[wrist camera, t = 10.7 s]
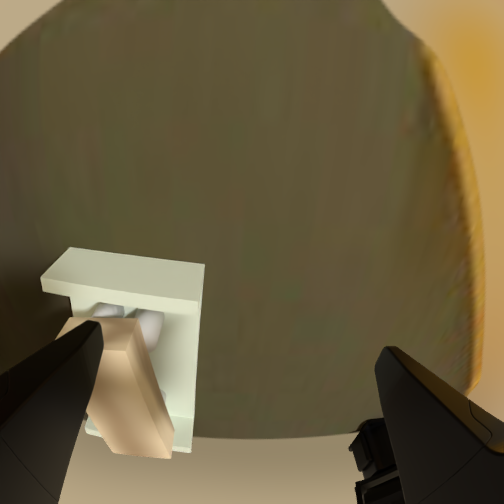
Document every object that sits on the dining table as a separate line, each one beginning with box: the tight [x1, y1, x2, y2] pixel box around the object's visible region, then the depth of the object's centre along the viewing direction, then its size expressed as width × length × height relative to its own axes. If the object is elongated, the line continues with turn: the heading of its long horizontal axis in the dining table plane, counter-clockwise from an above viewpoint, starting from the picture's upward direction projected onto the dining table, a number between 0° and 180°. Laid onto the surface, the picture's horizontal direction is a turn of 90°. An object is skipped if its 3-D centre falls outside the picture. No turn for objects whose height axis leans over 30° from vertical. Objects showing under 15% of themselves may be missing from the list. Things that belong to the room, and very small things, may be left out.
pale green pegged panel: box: [40, 247, 205, 453], centre depth 22 cm, size 10×17×4 cm, turn 171°
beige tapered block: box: [55, 317, 175, 459], centre depth 19 cm, size 5×12×3 cm, turn 2°
